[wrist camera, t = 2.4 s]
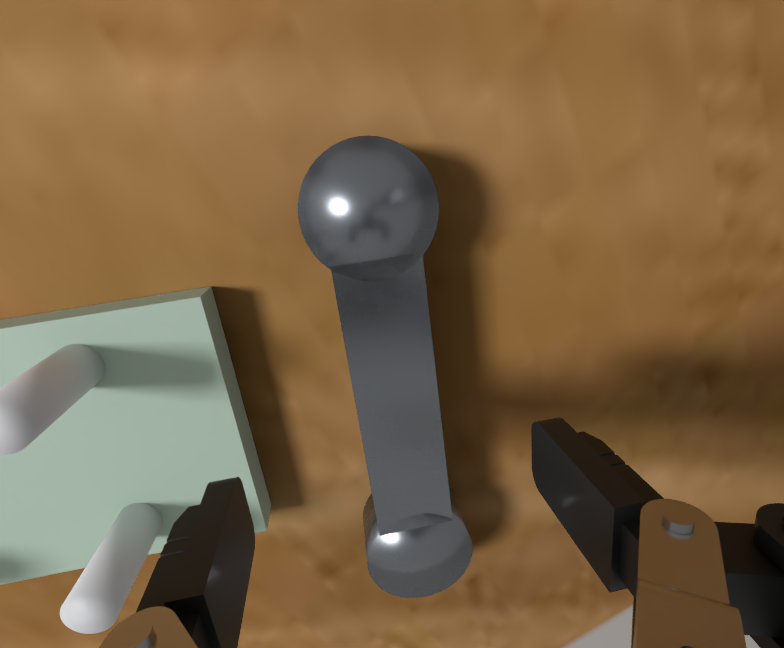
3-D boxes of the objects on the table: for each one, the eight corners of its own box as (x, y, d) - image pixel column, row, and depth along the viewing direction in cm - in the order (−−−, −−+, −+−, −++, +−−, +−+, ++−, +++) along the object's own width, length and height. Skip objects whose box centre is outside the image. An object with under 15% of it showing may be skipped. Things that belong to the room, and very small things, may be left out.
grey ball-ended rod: (291, 151, 16) (284, 146, 13) (415, 133, 16) (431, 126, 14) (370, 558, 22) (375, 607, 19) (459, 539, 22) (476, 585, 20)
